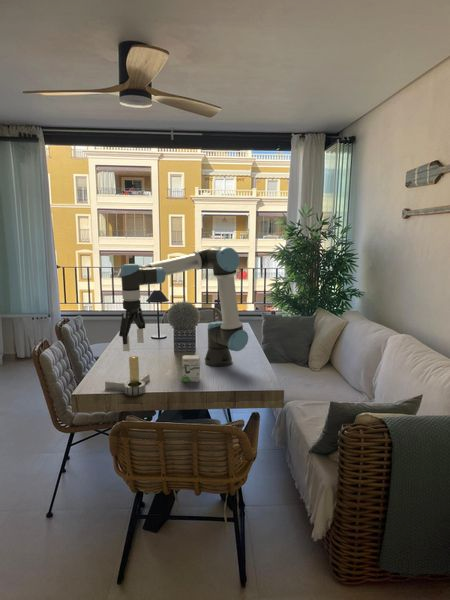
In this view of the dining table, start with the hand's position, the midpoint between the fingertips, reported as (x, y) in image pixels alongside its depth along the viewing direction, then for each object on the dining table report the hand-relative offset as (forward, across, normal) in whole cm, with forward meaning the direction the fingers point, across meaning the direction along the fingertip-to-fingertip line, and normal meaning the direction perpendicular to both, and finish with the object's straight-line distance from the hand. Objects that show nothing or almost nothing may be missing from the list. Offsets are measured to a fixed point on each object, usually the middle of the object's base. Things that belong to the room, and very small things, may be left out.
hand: (133, 346), depth 174 cm
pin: (+21, 0, 0) cm, 21 cm away
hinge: (+21, -5, -5) cm, 22 cm away
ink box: (+21, -20, +20) cm, 35 cm away
